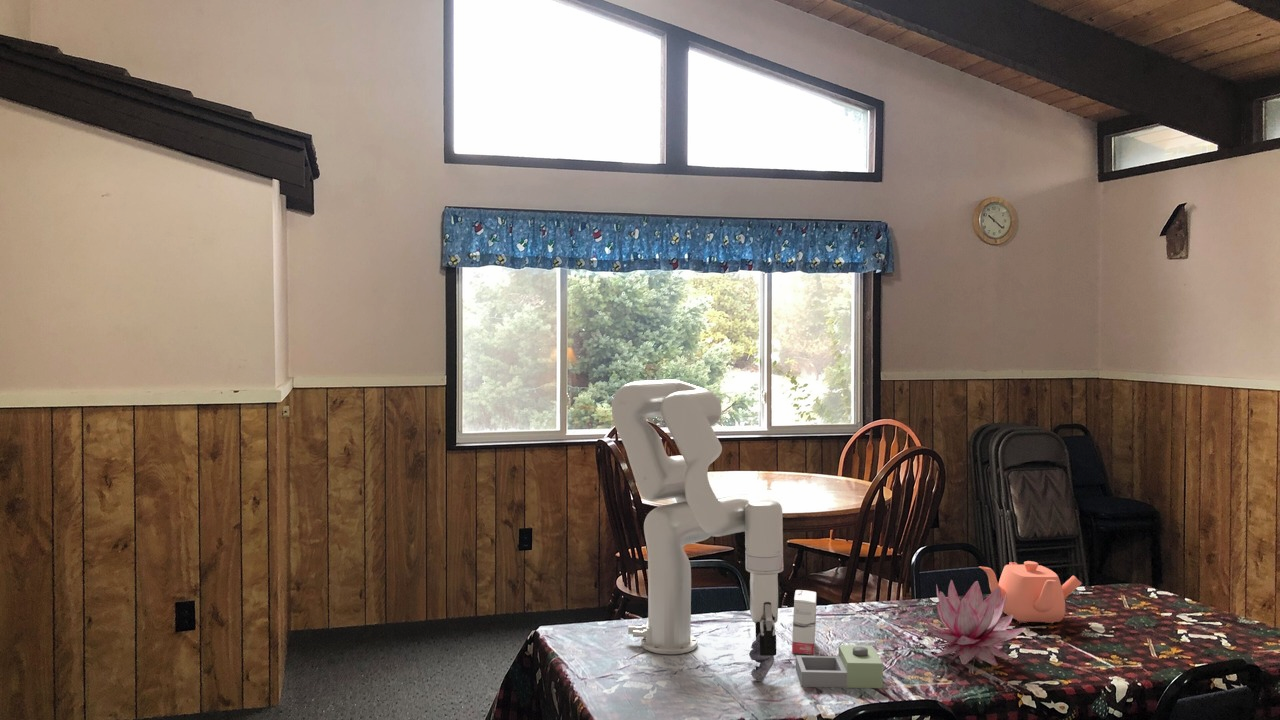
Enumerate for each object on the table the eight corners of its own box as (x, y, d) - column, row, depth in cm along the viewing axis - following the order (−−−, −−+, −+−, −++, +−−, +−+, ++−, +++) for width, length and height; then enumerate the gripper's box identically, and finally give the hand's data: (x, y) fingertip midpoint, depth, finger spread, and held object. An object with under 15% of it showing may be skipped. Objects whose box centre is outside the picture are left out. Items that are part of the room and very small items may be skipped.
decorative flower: (946, 633, 216) (947, 569, 216) (1039, 657, 201) (1040, 589, 200) (899, 656, 201) (900, 588, 201) (995, 685, 186) (996, 610, 185)
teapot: (1053, 636, 215) (1055, 577, 214) (977, 617, 228) (978, 562, 227) (1083, 618, 228) (1084, 562, 227) (1008, 601, 241) (1010, 549, 240)
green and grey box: (801, 686, 185) (801, 657, 184) (795, 667, 195) (795, 639, 194) (882, 688, 184) (883, 658, 184) (872, 669, 194) (872, 640, 194)
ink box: (815, 655, 202) (816, 601, 201) (791, 653, 203) (792, 600, 202) (815, 642, 210) (816, 590, 210) (793, 640, 211) (793, 588, 211)
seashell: (746, 675, 190) (747, 627, 190) (772, 674, 191) (772, 626, 190) (751, 685, 185) (752, 636, 185) (778, 685, 186) (778, 635, 185)
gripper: (742, 552, 196) (744, 633, 196) (748, 573, 178) (750, 661, 179) (778, 552, 195) (779, 633, 196) (788, 573, 178) (789, 661, 178)
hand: (765, 646), depth 187 cm, fingers open, 9 cm apart
